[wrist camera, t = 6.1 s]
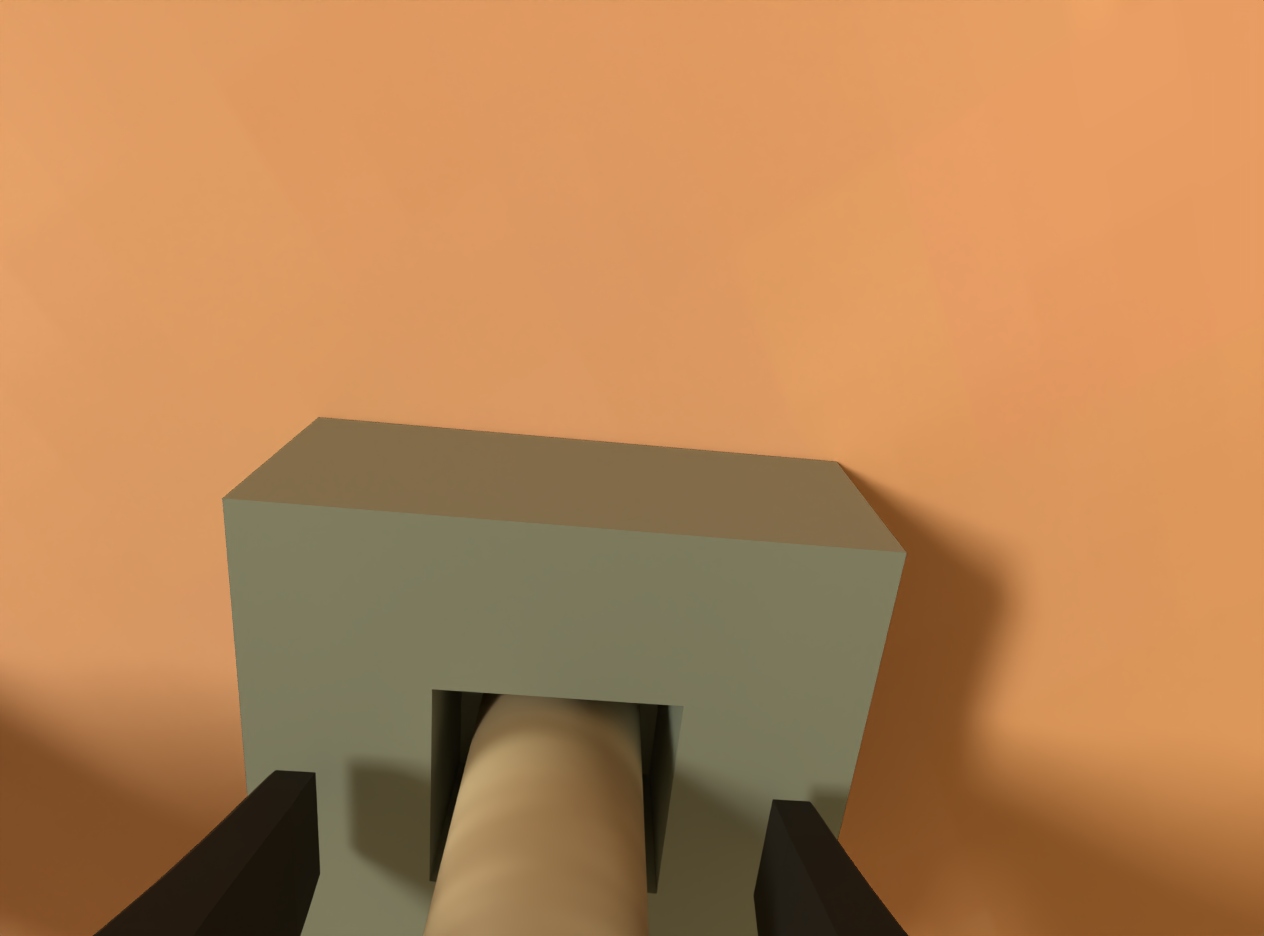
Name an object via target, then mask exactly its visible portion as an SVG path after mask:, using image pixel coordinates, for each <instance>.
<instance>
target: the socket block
mask: <svg viewBox="0 0 1264 936" xmlns="http://www.w3.org/2000/svg"><path fill="white" fill-rule="evenodd" d="M222 500H223V512H224V524H225V535H226V547H227V559H228V571H229V583H230V595H231V607H232V619H233V630H234V642H235V654H236V666H237V678H238V690H239V702H240V713H241V725H242V737H243V749H244V761H245V773H246V785H247V796H248V795H249V794H250V793H251V792H252V791H253V790H254V789H255V788H256V787H257V786H258V785H259V784H261V783H262V782H263V781H264V780H265V779H266V778H267V777H268V776H269V775H270V774H271V773H273V772H274V771H275V770H285V771H302V772H316V791H317V812H318V834H319V855H320V876H319V879H318V882H317V886H316V889H315V892H314V895H313V899H312V902H311V905H310V908H309V911H308V915H307V918H306V921H305V924H304V927H303V930H302V933H301V936H423V933H424V929H425V925H426V921H427V917H428V913H429V909H430V905H431V901H432V897H433V893H434V889H435V885H436V881H437V877H438V873H439V869H440V865H441V861H442V857H443V853H444V849H445V845H446V841H447V837H448V833H449V829H450V825H451V821H452V817H453V813H454V809H455V805H456V801H457V797H458V793H459V789H460V785H461V781H462V777H463V773H464V769H465V765H466V761H467V757H468V753H469V749H470V745H471V741H472V737H473V733H474V729H475V724H476V720H477V716H478V712H479V708H480V704H481V700H482V696H483V693H495V694H510V695H525V696H540V697H555V698H569V699H584V700H599V701H614V702H629V703H639V712H640V736H641V759H642V783H643V807H644V830H645V854H646V878H647V901H648V925H649V936H758V932H757V923H756V914H755V905H754V897H753V895H754V890H755V885H756V880H757V875H758V870H759V865H760V860H761V855H762V850H763V845H764V840H765V835H766V830H767V825H768V820H769V815H770V810H771V805H772V800H773V799H777V800H794V801H810V802H811V803H812V804H813V806H814V807H815V808H816V810H817V811H818V813H819V814H820V815H821V817H822V818H823V820H824V821H825V823H826V824H827V826H828V827H829V829H830V830H831V832H832V833H833V834H834V836H835V837H836V839H837V840H838V837H839V833H840V829H841V825H842V820H843V816H844V812H845V808H846V804H847V800H848V795H849V791H850V787H851V783H852V779H853V775H854V770H855V766H856V762H857V758H858V754H859V750H860V745H861V741H862V737H863V733H864V729H865V725H866V720H867V716H868V712H869V708H870V704H871V700H872V695H873V691H874V687H875V683H876V679H877V675H878V670H879V666H880V662H881V658H882V654H883V650H884V645H885V641H886V637H887V633H888V629H889V625H890V620H891V616H892V612H893V608H894V604H895V600H896V595H897V591H898V587H899V583H900V579H901V575H902V571H903V566H904V562H905V558H906V554H907V552H906V551H905V550H904V549H903V547H902V546H901V545H900V543H899V542H898V541H897V539H896V538H895V537H894V536H893V534H892V533H891V532H890V530H889V529H888V528H887V527H886V525H885V524H884V523H883V521H882V520H881V519H880V517H879V516H878V515H877V514H876V512H875V511H874V510H873V508H872V507H871V506H870V504H869V503H868V502H867V501H866V499H865V498H864V497H863V495H862V494H861V493H860V491H859V490H858V489H857V488H856V486H855V485H854V484H853V482H852V481H851V480H850V478H849V477H848V476H847V475H846V473H845V472H844V471H843V469H842V468H841V467H840V465H839V464H838V463H837V462H834V461H822V460H811V459H799V458H787V457H776V456H764V455H752V454H741V453H729V452H717V451H706V450H694V449H682V448H671V447H659V446H647V445H636V444H624V443H612V442H601V441H589V440H577V439H566V438H554V437H542V436H531V435H519V434H507V433H496V432H484V431H472V430H461V429H449V428H437V427H426V426H414V425H402V424H391V423H379V422H367V421H356V420H344V419H332V418H320V417H318V418H317V419H316V420H315V421H313V422H312V423H311V424H310V425H309V426H307V427H306V428H305V429H304V430H303V431H302V432H300V433H299V434H298V435H297V436H296V437H294V438H293V439H292V440H291V441H290V442H289V443H287V444H286V445H285V446H284V447H283V448H281V449H280V450H279V451H278V452H277V453H276V454H274V455H273V456H272V457H271V458H270V459H268V460H267V461H266V462H265V463H264V464H262V465H261V466H260V467H259V468H258V469H257V470H255V471H254V472H253V473H252V474H251V475H249V476H248V477H247V478H246V479H245V480H244V481H242V482H241V483H240V484H239V485H238V486H236V487H235V488H234V489H233V490H232V491H230V492H229V493H228V494H227V495H226V496H225V497H223V498H222Z"/></svg>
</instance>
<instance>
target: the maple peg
mask: <svg viewBox="0 0 1264 936" xmlns="http://www.w3.org/2000/svg"><path fill="white" fill-rule="evenodd" d="M423 936H649V925H648V901H647V878H646V854H645V830H644V807H643V783H642V759H641V736H640V712H639V703H629V702H614V701H599V700H584V699H569V698H555V697H540V696H525V695H510V694H495V693H483V696H482V700H481V704H480V708H479V712H478V716H477V720H476V724H475V729H474V733H473V737H472V741H471V745H470V749H469V753H468V757H467V761H466V765H465V769H464V773H463V777H462V781H461V785H460V789H459V793H458V797H457V801H456V805H455V809H454V813H453V817H452V821H451V825H450V829H449V833H448V837H447V841H446V845H445V849H444V853H443V857H442V861H441V865H440V869H439V873H438V877H437V881H436V885H435V889H434V893H433V897H432V901H431V905H430V909H429V913H428V917H427V921H426V925H425V929H424V933H423Z"/></svg>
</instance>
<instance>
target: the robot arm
mask: <svg viewBox="0 0 1264 936" xmlns="http://www.w3.org/2000/svg"><path fill="white" fill-rule="evenodd" d="M319 876H320V855H319V834H318V812H317V791H316V772H302V771H285V770H275V771H274V772H273V773H271V774H270V775H269V776H268V777H267V778H266V779H265V780H264V781H263V782H262V783H261V784H259V785H258V786H257V787H256V788H255V789H254V790H253V791H252V792H251V793H250V794H249V795H248V796H247V797H246V798H245V799H244V800H243V801H242V802H241V803H240V804H239V805H238V806H237V807H236V808H235V809H234V810H233V811H232V812H231V813H230V814H229V815H228V816H227V817H226V818H225V819H224V820H223V821H222V822H221V823H220V824H219V825H217V826H216V827H215V828H214V829H213V830H212V831H211V832H210V833H209V834H208V835H207V836H206V837H205V838H204V839H203V840H202V841H201V842H200V843H199V844H197V845H196V846H195V847H194V848H193V849H192V850H191V851H190V852H189V853H188V854H187V855H185V856H184V857H183V858H182V859H181V860H180V861H179V862H178V863H177V864H176V865H175V866H174V867H172V868H171V869H170V870H169V871H168V872H167V873H166V874H165V875H164V876H163V877H161V878H160V879H159V880H158V881H157V882H156V883H155V884H154V885H152V886H151V887H150V888H149V889H148V890H147V891H145V892H144V893H143V894H142V895H141V896H140V897H138V898H137V899H136V900H135V901H134V902H132V903H131V904H130V905H129V906H128V907H127V908H125V909H124V910H123V911H122V912H121V913H120V914H118V915H117V916H116V917H115V918H114V919H112V920H111V921H110V922H109V923H108V924H107V925H105V926H104V927H103V928H102V929H101V930H99V931H98V932H97V933H96V934H94V935H93V936H301V933H302V930H303V927H304V924H305V921H306V918H307V915H308V911H309V908H310V905H311V902H312V899H313V895H314V892H315V889H316V886H317V882H318V879H319ZM753 897H754V905H755V914H756V923H757V932H758V936H908V935H907V933H906V932H905V931H904V930H903V928H902V927H901V926H900V925H899V923H898V922H897V921H896V919H895V918H894V917H893V916H892V914H891V913H890V912H889V910H888V909H887V908H886V906H885V905H884V904H883V902H882V901H881V900H880V899H879V897H878V896H877V895H876V893H875V892H874V891H873V889H872V888H871V887H870V885H869V884H868V883H867V881H866V880H865V878H864V877H863V876H862V874H861V873H860V872H859V870H858V869H857V867H856V866H855V864H854V863H853V862H852V860H851V859H850V857H849V856H848V855H847V853H846V852H845V850H844V849H843V847H842V846H841V845H840V843H839V842H838V840H837V839H836V837H835V836H834V834H833V833H832V832H831V830H830V829H829V827H828V826H827V824H826V823H825V821H824V820H823V818H822V817H821V815H820V814H819V813H818V811H817V810H816V808H815V807H814V806H813V804H812V803H811V802H810V801H794V800H777V799H773V800H772V805H771V810H770V815H769V820H768V825H767V830H766V835H765V840H764V845H763V850H762V855H761V860H760V865H759V870H758V875H757V880H756V885H755V890H754V895H753Z"/></svg>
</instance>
